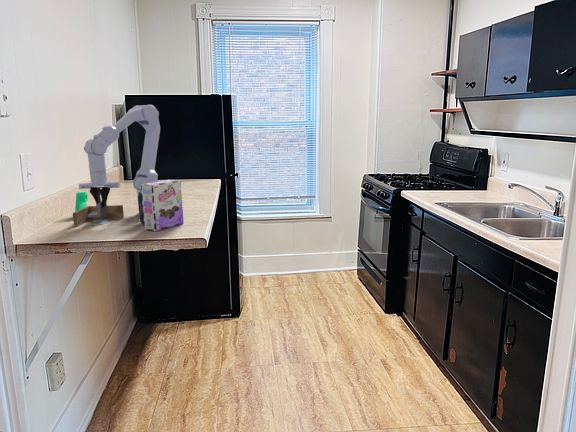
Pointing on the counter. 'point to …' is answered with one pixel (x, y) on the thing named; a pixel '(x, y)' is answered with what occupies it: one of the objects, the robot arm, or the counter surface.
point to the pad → (99, 222)
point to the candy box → (162, 204)
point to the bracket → (99, 210)
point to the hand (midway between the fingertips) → (101, 207)
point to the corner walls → (82, 217)
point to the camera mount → (81, 200)
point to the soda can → (140, 208)
